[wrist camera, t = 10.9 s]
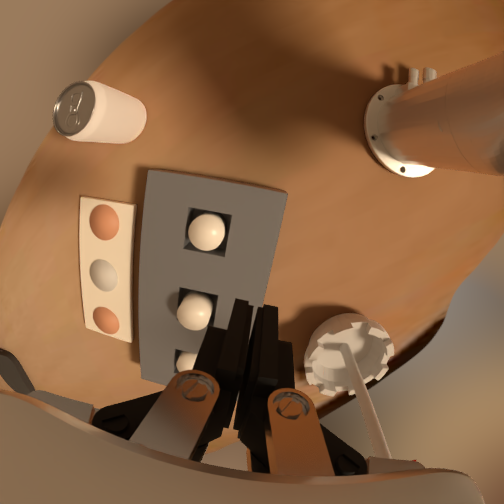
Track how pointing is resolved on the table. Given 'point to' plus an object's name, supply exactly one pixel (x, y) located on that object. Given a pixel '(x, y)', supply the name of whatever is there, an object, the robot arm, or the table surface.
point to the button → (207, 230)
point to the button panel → (199, 259)
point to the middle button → (195, 310)
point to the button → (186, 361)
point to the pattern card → (107, 265)
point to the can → (98, 114)
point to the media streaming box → (14, 373)
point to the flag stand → (351, 364)
